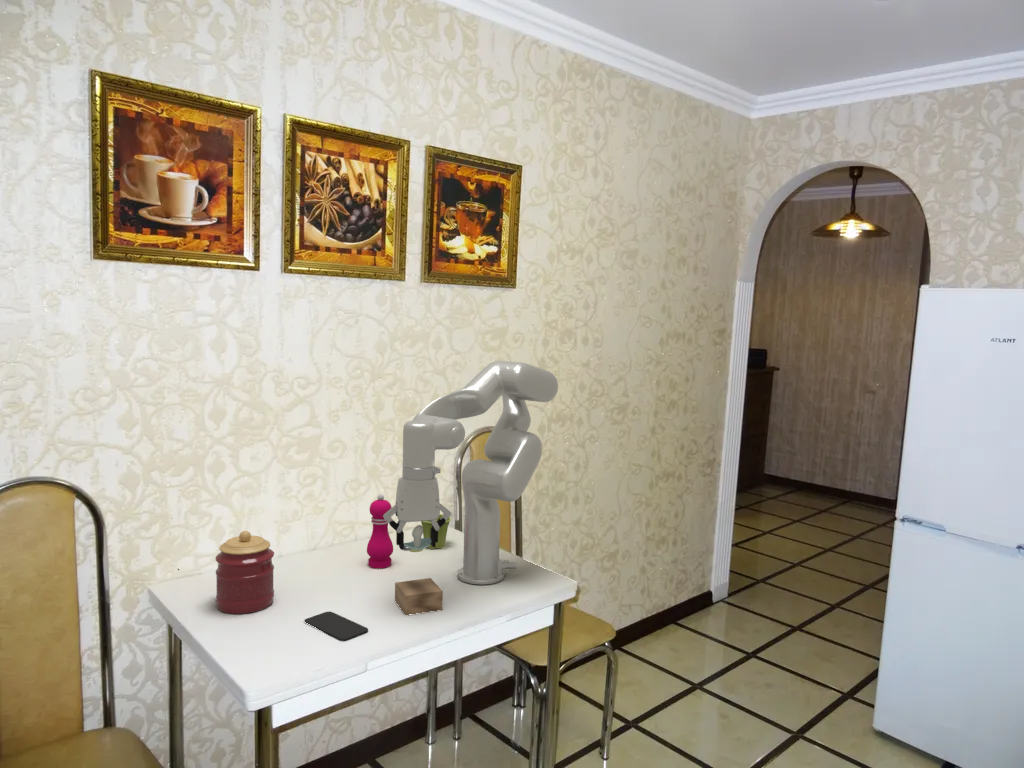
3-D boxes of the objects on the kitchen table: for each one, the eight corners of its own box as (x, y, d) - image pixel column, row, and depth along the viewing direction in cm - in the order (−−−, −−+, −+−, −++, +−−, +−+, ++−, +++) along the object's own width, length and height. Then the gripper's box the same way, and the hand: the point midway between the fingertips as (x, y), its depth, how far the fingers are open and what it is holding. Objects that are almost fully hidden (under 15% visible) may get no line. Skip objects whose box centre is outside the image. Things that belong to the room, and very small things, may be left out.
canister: (215, 597, 174) (214, 525, 173) (271, 590, 179) (271, 521, 178) (216, 618, 162) (215, 541, 161) (276, 610, 167) (276, 536, 166)
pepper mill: (398, 564, 201) (399, 493, 199) (380, 571, 195) (381, 498, 193) (379, 558, 205) (380, 489, 203) (361, 565, 199) (361, 494, 197)
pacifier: (394, 550, 172) (410, 555, 167) (394, 524, 171) (410, 529, 167) (418, 544, 177) (434, 549, 173) (418, 519, 176) (434, 523, 172)
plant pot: (455, 544, 220) (456, 516, 219) (440, 553, 211) (441, 524, 211) (429, 539, 224) (429, 512, 223) (413, 548, 215) (413, 519, 214)
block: (430, 597, 179) (430, 577, 178) (442, 611, 170) (442, 590, 170) (394, 602, 175) (395, 582, 174) (405, 616, 167) (405, 595, 166)
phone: (329, 610, 167) (370, 629, 158) (329, 613, 168) (370, 632, 158) (301, 620, 162) (342, 640, 152) (301, 623, 162) (342, 644, 152)
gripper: (451, 468, 176) (449, 539, 178) (379, 471, 171) (378, 544, 173) (458, 475, 169) (456, 549, 171) (383, 477, 164) (382, 554, 165)
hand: (417, 546), depth 172 cm, fingers closed on pacifier, 7 cm apart
